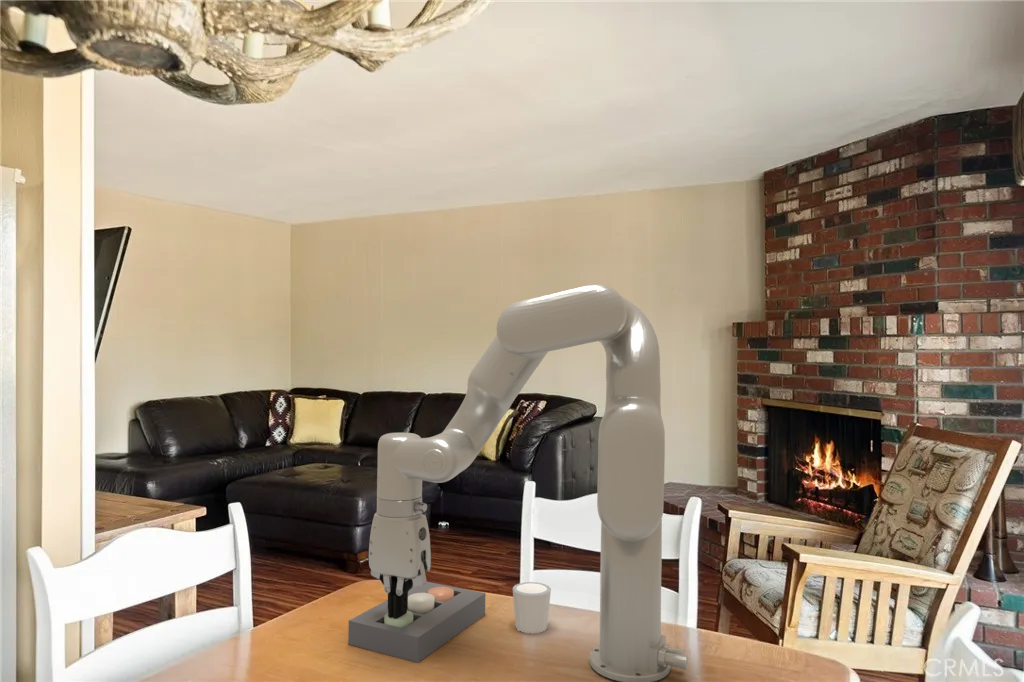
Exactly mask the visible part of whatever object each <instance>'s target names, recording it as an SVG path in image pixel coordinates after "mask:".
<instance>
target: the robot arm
mask: <svg viewBox="0 0 1024 682" xmlns="http://www.w3.org/2000/svg"><path fill="white" fill-rule="evenodd" d="M495 330H496V335H495V336H494V338H493V339H492V341H491V342H490V344H489V345H488V347H487V349H485V351H484V353H483V354H482V355H481V357H480V359H478V362H477V363H476V365H475V366H474V367H473V368H472V369H471V371H470V373H469V376H468V379H467V390H466V392H465V393H466V394H465V397H464V399H463V400H462V403H461V404H460V406H459V408H458V409H457V411H456V412H455V414H454V416H453V417H452V419H451V420H450V421H449V423H448V424H447V426H446V427H445V429H444V430H443V431H441V433H439V434H435V435H433V436H430V437H421V436H420V435H418V434H416V433H414V432H413V433H412V432H389V433H385V434H383V435H381V436H380V438H379V440H378V442H377V467H376V468H377V476H376V477H377V478H376V486H377V487H376V512H375V513H374V515H373V518H372V524H371V528H370V536H369V546H368V567H369V569H370V575H371V576H372V577H373V578H376V579H377V580H380V582H381V583H382V585H383V588H384V592H385V593H386V594H387V600H388V617H390V618H392V617H393V618H394V619H397V618H399V617H401V616H403V615H404V614H406V613H407V609H408V591H410V590H411V588H412V587H415V586H422V585H424V584H425V583H426V582H428V581H427V576H426V573H428V572H430V571H431V566H432V561H431V560H432V555H431V554H432V553H431V539H430V531H429V530H430V529H429V525H428V524H429V522H428V520H427V515H426V514H423V512H425V513H426V511H427V509H428V504H427V503H426V502H425V503H424V502H423V481H425V482H429V483H435V484H436V483H437V484H438V483H439V484H441V483H446V482H449V481H450V480H452V479H454V478H455V477H457V476H458V475H459V474H460V473H462V472H464V471H465V470H466V469H467V468H468V467H470V465H471V464H472V463H473V462H474V460H476V458H477V456H478V455H479V453H480V452H481V451H482V450H483V448H484V446H485V445H486V443H487V442H488V441H489V439H490V438H491V436H492V435H493V433H494V431H496V429H497V427H498V425H499V424H500V422H501V421H502V419H503V418H504V417H505V415H506V414H507V413H508V411H509V410H510V408H511V406H512V404H513V403H514V401H515V399H516V398H517V397H518V395H519V394H520V392H521V391H522V390H523V388H524V387H525V385H526V384H527V382H528V381H529V379H530V378H531V376H532V375H533V373H534V372H535V371H536V369H537V368H538V367H539V365H540V364H541V363H542V361H543V360H544V358H545V357H546V355H547V354H549V352H554V351H558V350H562V349H563V350H564V349H568V348H573V347H577V346H581V345H582V346H583V345H586V344H590V343H595V342H600V344H601V345H602V347H603V348H604V352H605V360H606V363H605V364H606V365H605V366H606V367H605V379H606V380H605V383H606V387H605V388H606V389H605V390H606V391H605V392H606V393H605V410H604V413H603V415H602V417H601V420H600V423H599V427H598V442H597V443H598V447H597V449H598V450H597V492H596V493H597V498H596V499H597V500H596V501H597V502H596V504H597V505H596V507H597V514H598V517H599V520H600V522H601V523H600V570H599V571H600V573H599V574H600V581H599V582H600V585H599V591H600V593H599V602H600V604H599V644H598V645H596V646H595V647H593V648H592V650H591V651H590V653H589V664H590V666H591V667H592V669H593V670H594V671H595V672H596V673H598V674H600V675H601V676H602V677H605V678H607V679H610V680H614V681H616V682H657V681H659V680H662V679H664V678H665V677H667V676H668V675H669V674H670V672H671V666H672V667H675V668H677V669H682V670H688V666H689V656H688V655H684V654H685V653H684V649H682V648H677V647H670V645H669V644H667V636H666V635H663V634H661V633H662V632H661V631H662V626H661V625H662V567H663V566H662V563H663V561H662V557H663V556H662V554H663V553H662V549H663V548H662V547H663V546H662V543H663V542H662V541H663V539H662V533H663V532H662V531H663V530H662V528H663V527H662V526H663V524H662V521H663V515H664V505H665V504H664V503H665V502H664V501H665V498H664V497H665V496H664V495H665V459H666V457H665V456H666V455H665V454H666V453H665V451H666V450H665V449H666V436H665V434H666V432H665V424H664V421H663V418H662V413H661V412H662V411H661V409H662V408H661V356H660V346H659V341H658V337H657V334H656V332H655V331H656V330H655V329H654V326H653V325H652V324H651V322H650V320H649V318H648V317H647V315H646V314H645V313H644V312H643V311H642V310H641V309H640V308H639V307H638V306H637V305H635V304H634V303H633V302H631V301H630V300H628V299H627V298H625V297H624V296H621V294H620V293H619V292H618V291H617V290H616V289H614V288H612V287H610V286H608V285H605V284H600V283H599V284H597V283H595V284H594V283H593V284H587V285H583V286H579V287H576V288H575V287H574V288H570V289H567V290H566V289H565V290H562V291H558V292H555V293H549V294H545V295H542V296H537V297H532V298H528V299H527V298H526V299H521V300H519V301H516V302H513V303H511V304H509V305H508V306H507V307H505V308H504V309H503V311H502V312H501V314H500V315H499V317H498V319H497V322H496V329H495Z"/></svg>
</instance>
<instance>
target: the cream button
mask: <svg viewBox="0 0 1024 682" xmlns="http://www.w3.org/2000/svg"><path fill="white" fill-rule="evenodd" d="M433 609H434V595H432V594H429V593H415V594H411V595H409V596H408V609H407V611H411V612H416V613H420V614H427V613H428V612H430V611H432V610H433Z"/></svg>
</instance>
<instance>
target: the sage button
mask: <svg viewBox="0 0 1024 682" xmlns="http://www.w3.org/2000/svg"><path fill="white" fill-rule="evenodd" d="M412 622H413V613H412V612H410V611H407V613H406V614H404V615H403V616H401V617H399V618H397V619H394V618H393V617H392V618H390V617H388V613H386V614H385V616H384V624H387V625H391V626H395V627H399V628H404V627H406V626H407V625H409V624H410V623H412Z"/></svg>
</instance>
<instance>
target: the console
mask: <svg viewBox="0 0 1024 682" xmlns="http://www.w3.org/2000/svg"><path fill="white" fill-rule="evenodd" d="M434 587H449V588H452V589H453V590H454V597H453V598H451V599H450V600H448V601H446V602H443V601H438V600H434V609H433V610H432V611H430V612H428V613H427V614H420V613H416V612H412V613H413V622H412V623H410V624H409V625H407V626H406V627H404V628H399V627H395V626H391V625H387V624H384V616H385V614H386V613H388V599H386V600H385V601H383V602H380V603H378V604H377V605H375V606H373V607H371V608H370V609H367V610H366V611H364V612H363V613H362V612H361V614H358V615H356V616H355V617H352V618H350V619H349V620H348V631H347V632H348V641H347V642H348V646H353V647H357V648H360V649H364V650H367V651H372V652H375V653H379V654H383V655H386V656H389V657H390V656H391V657H395V658H399V659H402V660H406V661H410V662H413V663H417V664H418V663H420V661H422V660H424V659H425V658H427V657H428V656H430V655H431V654H432V653H433V652H435V651H436V650H438V649H439V648H441V647H442V646H443V645H445V644H446V643H448V642H449V641H450V640H452V639H453V638H454V636H455V635H456V636H457V635H459V634H460V633H461V631H462V632H463V631H464V630H465V628H466V629H467V628H468V626H469V625H470V626H472V623H473V622H474V623H476V622H477V621H478V620H480V619H481V618H482V616H483V617H484V616H486V593H485V592H480V591H476V590H473V589H466V588H462V587H461V588H460V587H455V586H451V585H447V584H441V583H435V582H432V581H431V582H430V581H427V582H426V583H425V584H424V585H422V586H415V587H412V588H411V590H410V591H408V596H409V595H411V594H415V593H428V590H429V589H431V588H434ZM410 612H411V611H410ZM479 618H480V619H479ZM476 620H477V621H476ZM475 621H476V622H475ZM474 623H473V624H474ZM470 626H469V627H470ZM458 633H459V634H458ZM456 636H455V637H456ZM451 638H452V639H451ZM448 640H449V641H448ZM447 641H448V642H447ZM445 642H446V643H445ZM444 643H445V644H444Z"/></svg>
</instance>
